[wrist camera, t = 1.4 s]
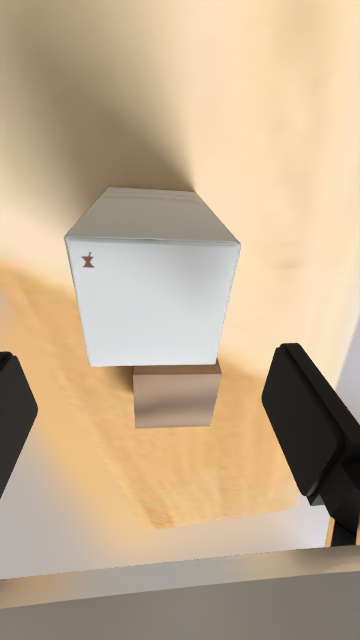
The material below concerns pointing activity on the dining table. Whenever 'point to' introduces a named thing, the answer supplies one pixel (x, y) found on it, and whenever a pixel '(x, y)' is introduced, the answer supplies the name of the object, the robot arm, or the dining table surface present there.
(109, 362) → the supplement box
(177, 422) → the walnut block
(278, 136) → the dining table surface
